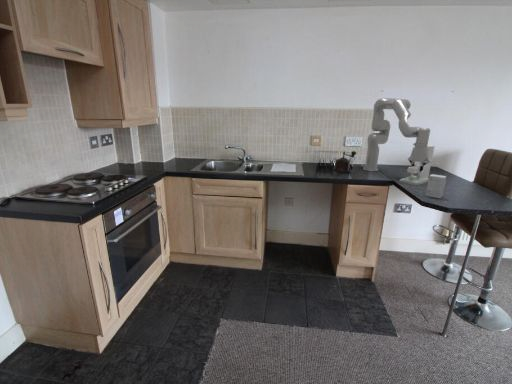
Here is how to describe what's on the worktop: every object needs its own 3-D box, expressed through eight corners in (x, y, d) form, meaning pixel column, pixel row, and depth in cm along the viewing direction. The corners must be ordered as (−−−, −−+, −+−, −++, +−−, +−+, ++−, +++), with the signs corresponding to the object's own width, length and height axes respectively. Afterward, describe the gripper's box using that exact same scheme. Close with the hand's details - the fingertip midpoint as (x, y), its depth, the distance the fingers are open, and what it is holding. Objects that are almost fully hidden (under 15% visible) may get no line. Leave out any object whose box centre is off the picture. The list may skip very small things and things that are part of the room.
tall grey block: (422, 179, 217) (429, 146, 210) (415, 176, 224) (421, 145, 217) (430, 178, 219) (436, 146, 212) (422, 176, 226) (429, 145, 219)
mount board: (399, 182, 206) (401, 171, 204) (411, 177, 220) (413, 167, 218) (416, 185, 198) (419, 174, 195) (428, 181, 211) (430, 170, 209)
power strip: (407, 172, 202) (407, 167, 201) (418, 168, 215) (419, 164, 214) (414, 173, 199) (415, 168, 198) (425, 170, 211) (426, 165, 210)
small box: (442, 196, 173) (447, 176, 169) (440, 198, 169) (444, 177, 165) (427, 193, 178) (431, 173, 175) (425, 195, 174) (429, 175, 170)
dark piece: (334, 171, 237) (336, 149, 232) (337, 169, 247) (339, 148, 241) (353, 173, 230) (356, 151, 225) (355, 171, 240) (358, 150, 235)
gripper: (406, 144, 205) (402, 169, 210) (432, 147, 193) (427, 173, 198) (410, 144, 210) (406, 168, 215) (436, 146, 198) (431, 172, 203)
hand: (416, 170), depth 206 cm, fingers closed on power strip, 5 cm apart
